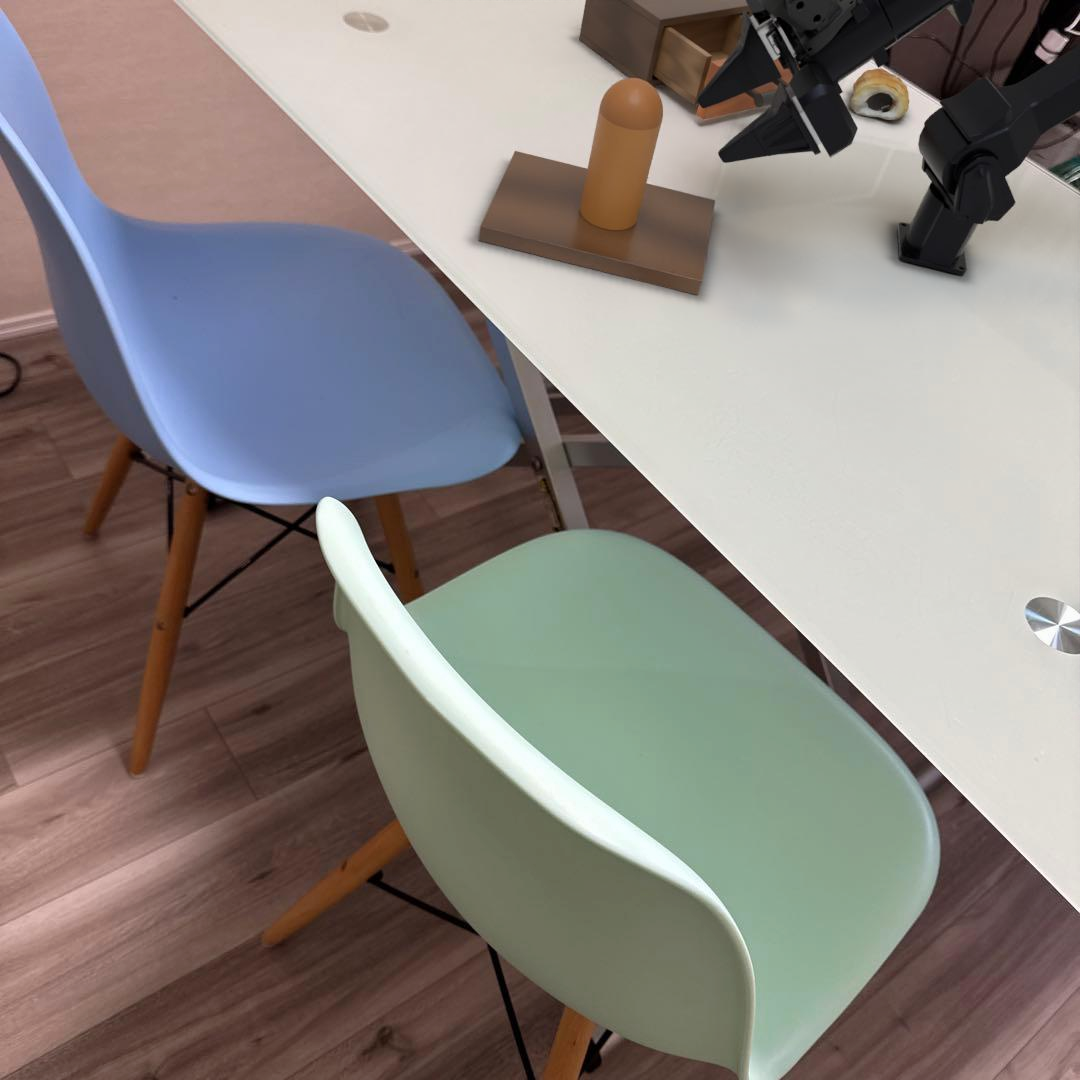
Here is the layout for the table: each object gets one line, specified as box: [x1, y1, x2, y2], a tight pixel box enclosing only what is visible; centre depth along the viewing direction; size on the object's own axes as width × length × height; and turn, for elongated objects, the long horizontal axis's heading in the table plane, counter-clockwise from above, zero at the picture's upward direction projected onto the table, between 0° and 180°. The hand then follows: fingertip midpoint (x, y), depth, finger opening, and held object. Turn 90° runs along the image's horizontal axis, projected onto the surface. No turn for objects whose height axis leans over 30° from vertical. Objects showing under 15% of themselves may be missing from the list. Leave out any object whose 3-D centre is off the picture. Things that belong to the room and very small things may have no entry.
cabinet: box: [578, 0, 753, 88], centre depth 114 cm, size 13×15×8 cm
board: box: [478, 150, 716, 296], centre depth 91 cm, size 14×20×2 cm
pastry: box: [850, 68, 910, 121], centre depth 116 cm, size 9×7×4 cm
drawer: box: [653, 13, 799, 121], centre depth 109 cm, size 16×13×6 cm
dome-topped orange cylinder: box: [580, 77, 664, 230], centre depth 85 cm, size 5×5×12 cm
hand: (709, 129), depth 85 cm, fingers open, 9 cm apart
